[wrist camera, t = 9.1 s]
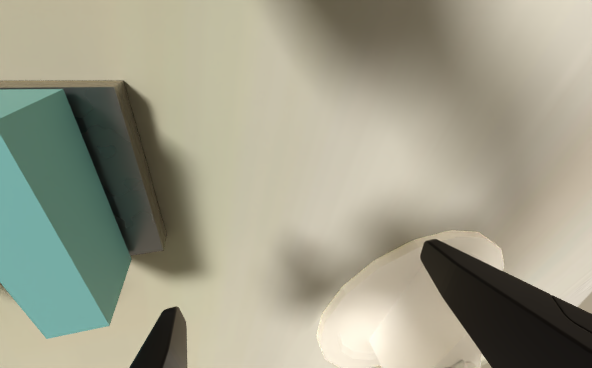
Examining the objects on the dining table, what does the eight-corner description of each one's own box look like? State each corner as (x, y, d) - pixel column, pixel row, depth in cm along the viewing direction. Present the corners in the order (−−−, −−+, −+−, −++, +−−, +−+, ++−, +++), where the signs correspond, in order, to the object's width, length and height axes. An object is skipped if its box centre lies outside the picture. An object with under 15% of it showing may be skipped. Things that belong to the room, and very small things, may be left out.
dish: (462, 326, 42) (531, 411, 33) (316, 378, 38) (350, 494, 28) (526, 207, 29) (673, 294, 20) (313, 263, 24) (376, 412, 15)
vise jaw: (63, 89, 11) (-8, 121, 7) (131, 259, 16) (109, 325, 12) (-14, 89, 10) (-130, 125, 7) (83, 266, 15) (46, 338, 12)
